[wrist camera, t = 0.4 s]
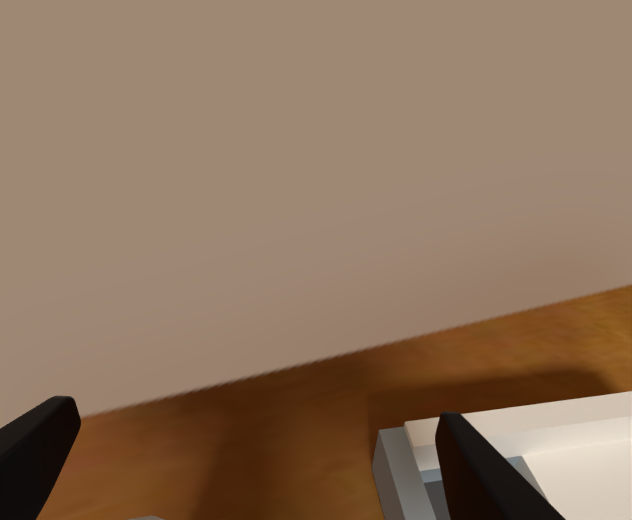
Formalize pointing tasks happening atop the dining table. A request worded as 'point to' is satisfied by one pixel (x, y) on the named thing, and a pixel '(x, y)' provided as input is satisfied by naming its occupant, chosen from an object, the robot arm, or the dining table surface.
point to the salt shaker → (147, 518)
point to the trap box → (521, 458)
